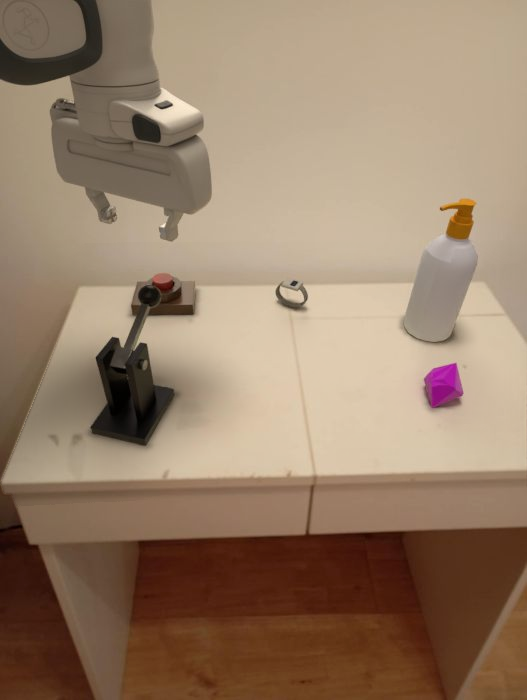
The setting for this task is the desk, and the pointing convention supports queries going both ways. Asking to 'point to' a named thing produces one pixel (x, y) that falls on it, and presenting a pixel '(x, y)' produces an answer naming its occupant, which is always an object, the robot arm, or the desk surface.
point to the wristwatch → (293, 286)
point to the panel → (170, 298)
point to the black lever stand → (130, 396)
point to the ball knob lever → (136, 327)
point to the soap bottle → (443, 278)
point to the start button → (163, 281)
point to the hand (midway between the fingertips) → (138, 229)
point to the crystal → (443, 384)
